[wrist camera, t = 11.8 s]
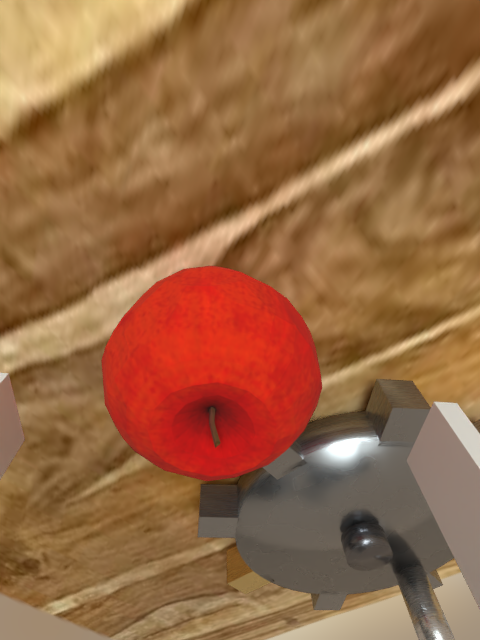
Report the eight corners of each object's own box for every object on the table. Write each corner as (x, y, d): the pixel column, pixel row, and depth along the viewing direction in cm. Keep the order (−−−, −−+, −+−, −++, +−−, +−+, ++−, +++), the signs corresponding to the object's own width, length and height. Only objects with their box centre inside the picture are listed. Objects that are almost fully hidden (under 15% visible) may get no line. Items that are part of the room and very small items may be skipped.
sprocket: (310, 603, 29) (333, 735, 23) (135, 492, 22) (102, 642, 16) (545, 503, 24) (655, 638, 18) (419, 313, 17) (533, 433, 11)
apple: (155, 399, 20) (123, 541, 13) (99, 258, 16) (16, 363, 9) (307, 373, 19) (350, 507, 13) (288, 220, 15) (336, 304, 9)
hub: (290, 512, 25) (303, 587, 21) (307, 448, 22) (326, 522, 18) (378, 514, 25) (406, 588, 22) (406, 451, 23) (445, 524, 19)
